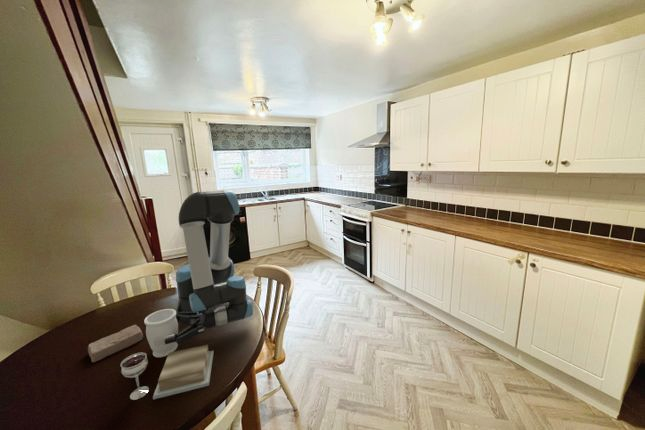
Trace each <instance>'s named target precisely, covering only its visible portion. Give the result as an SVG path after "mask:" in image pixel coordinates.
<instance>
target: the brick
mask: <svg viewBox="0 0 645 430" xmlns="http://www.w3.org/2000/svg"><path fill="white" fill-rule="evenodd" d="M143 339H144V334H143V330H141V328H140V327H139V326H138V325H137V324H132V325H131V326H128V327H126V328H123V329H121V330H120V331H118V332H115V333H112V334H109V335H107V336H104V337H102V338H99V339H98V340H96V341H94V342H91V343H89V344H88V346H87V352H88V356H89V357H90V359H91V360H90V361H91V363H95V362H98V361H100V360H102V359H105V358H106V357H108V356H111V355H113V354H115V353H117V352H120V351H121V350H124V349H126V348H129V347H130V346H132V345H135V344H137V343H138V342H140V341H142V340H143Z"/></svg>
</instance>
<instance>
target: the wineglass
mask: <svg viewBox="0 0 645 430" xmlns="http://www.w3.org/2000/svg"><path fill="white" fill-rule="evenodd" d="M148 364H149V361H148V357H147V353H146V352H142V351H141V352H137V353H133V354H131V355H129V356H126V357H125V358H124V359H123V360H122V361H121V363H120V367H121V371H120V373H121V374H122V375H123V377H125V378H129V379H130V378H131V379H133V378H135V382H136V387H137V388H136V389H134V390H133V391H132V392H131V393H130V395H129V398H130V400H133V401H135V400H138V399H141V398H143V397H145V396H146V395H147V394H148V392H149V390H150V388H149V386H146V385H145V386H140V380H139V376H140V375H142V374H143V373H144V372H145V370H146V368H147V366H148Z"/></svg>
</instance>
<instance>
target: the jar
mask: <svg viewBox="0 0 645 430" xmlns="http://www.w3.org/2000/svg"><path fill="white" fill-rule="evenodd" d="M176 315H177V313H176V309H173V308H164V309H160V310H157V311H154V312H152V313H150V314H148V315H147V316H146V317H145V318H144V321H143V322H144V325H145V326H146V327H145V335H146V339H147V342H148V344H149V347H150V349H151V350H152V355H153V357H154V358H163V357H168V354H169V353H170V352H175V351H177V348H178V346H179V345H178V344H177V342H173V343H169V344H165V345H161V346H158V347H155V345H154V339H158V338H162V337H165V336H169V335H172V334H178V333H179V322H177V319H176V317H175V316H176Z"/></svg>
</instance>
